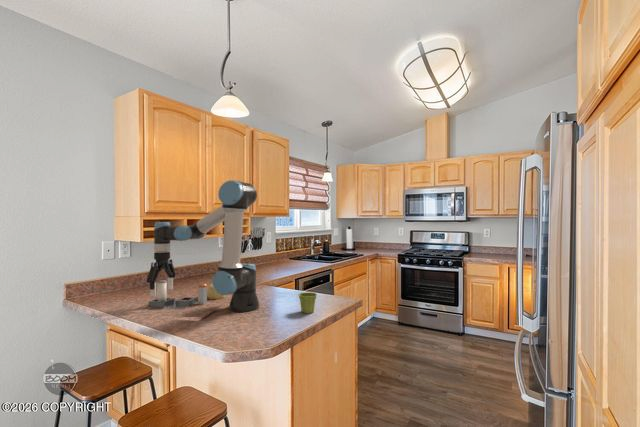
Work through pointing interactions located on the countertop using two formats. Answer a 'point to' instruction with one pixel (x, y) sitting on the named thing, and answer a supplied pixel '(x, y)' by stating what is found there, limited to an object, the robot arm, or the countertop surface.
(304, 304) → the plant pot
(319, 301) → the countertop surface
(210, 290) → the sculpture
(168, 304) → the dock
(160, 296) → the cream round peg
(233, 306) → the robot arm
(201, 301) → the pin
